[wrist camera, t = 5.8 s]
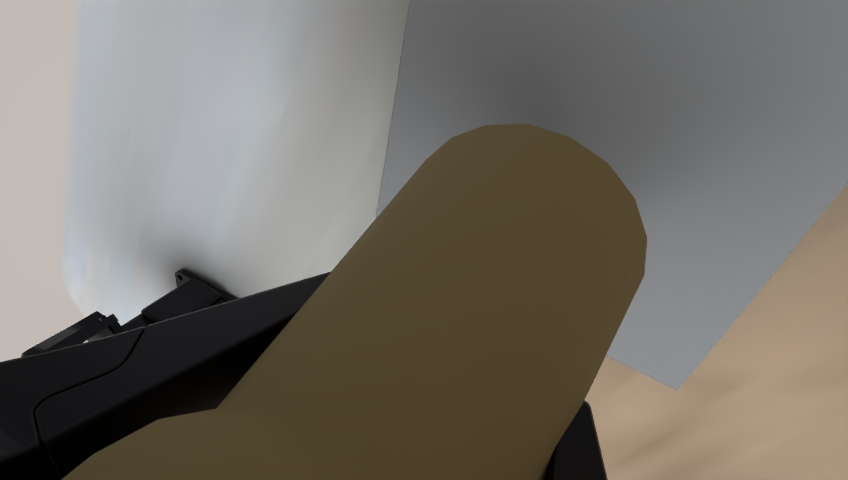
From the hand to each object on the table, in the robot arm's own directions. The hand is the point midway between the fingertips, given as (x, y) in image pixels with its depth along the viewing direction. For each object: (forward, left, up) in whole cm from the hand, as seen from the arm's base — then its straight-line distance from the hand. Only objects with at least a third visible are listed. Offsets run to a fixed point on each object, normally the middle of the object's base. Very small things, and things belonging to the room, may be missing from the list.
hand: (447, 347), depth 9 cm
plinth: (0, 0, -12) cm, 12 cm away
